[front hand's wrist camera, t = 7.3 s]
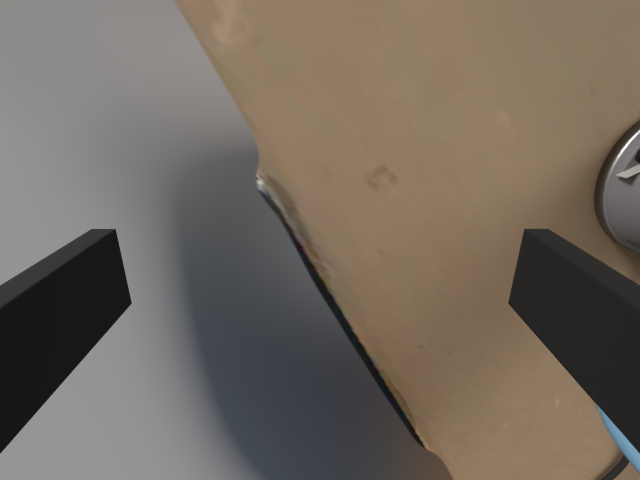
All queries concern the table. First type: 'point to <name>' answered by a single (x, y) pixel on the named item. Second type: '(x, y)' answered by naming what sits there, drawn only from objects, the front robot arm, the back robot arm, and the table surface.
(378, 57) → the table surface
